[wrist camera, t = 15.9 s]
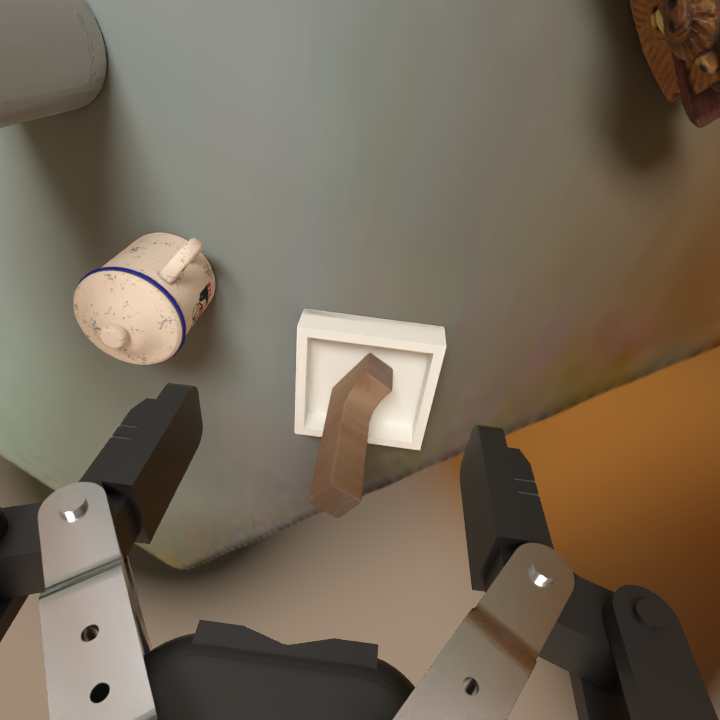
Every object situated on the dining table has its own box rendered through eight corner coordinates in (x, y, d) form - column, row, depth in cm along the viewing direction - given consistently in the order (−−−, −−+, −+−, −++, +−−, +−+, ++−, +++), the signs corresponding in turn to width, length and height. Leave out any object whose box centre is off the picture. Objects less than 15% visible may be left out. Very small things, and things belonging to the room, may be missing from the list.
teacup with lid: (186, 330, 49) (133, 402, 40) (109, 270, 46) (31, 334, 36) (256, 258, 44) (213, 322, 34) (174, 184, 40) (102, 233, 31)
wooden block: (354, 403, 52) (338, 519, 39) (331, 387, 51) (306, 502, 38) (394, 368, 48) (388, 483, 36) (369, 351, 47) (356, 463, 35)
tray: (300, 412, 54) (294, 433, 52) (303, 308, 46) (297, 326, 43) (419, 428, 54) (419, 450, 51) (444, 326, 46) (446, 346, 43)
